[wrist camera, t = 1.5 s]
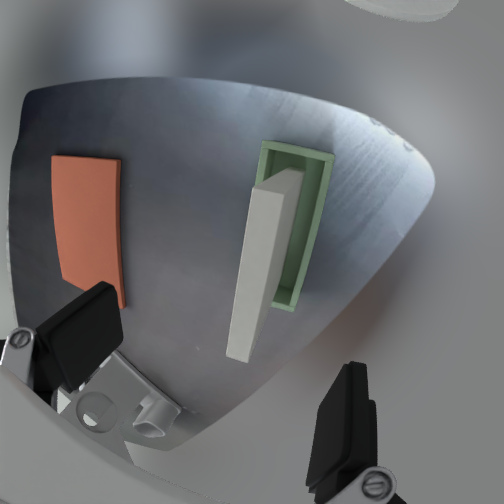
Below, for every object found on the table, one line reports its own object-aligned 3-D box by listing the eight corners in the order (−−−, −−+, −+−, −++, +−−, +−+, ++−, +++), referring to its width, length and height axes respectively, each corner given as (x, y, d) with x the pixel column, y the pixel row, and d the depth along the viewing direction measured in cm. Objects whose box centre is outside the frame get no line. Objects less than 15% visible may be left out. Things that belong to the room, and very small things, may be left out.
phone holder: (186, 410, 42) (141, 487, 26) (161, 418, 46) (121, 481, 30) (112, 346, 40) (49, 414, 24) (98, 362, 45) (46, 419, 29)
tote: (271, 140, 22) (262, 139, 19) (333, 153, 21) (335, 155, 18) (247, 278, 28) (236, 296, 25) (298, 293, 27) (294, 312, 24)
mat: (55, 154, 29) (51, 155, 28) (121, 159, 26) (116, 160, 26) (66, 276, 37) (62, 278, 36) (126, 306, 35) (123, 309, 34)
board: (289, 165, 22) (252, 186, 11) (306, 169, 22) (284, 194, 11) (268, 270, 26) (225, 356, 15) (282, 274, 26) (247, 363, 15)
